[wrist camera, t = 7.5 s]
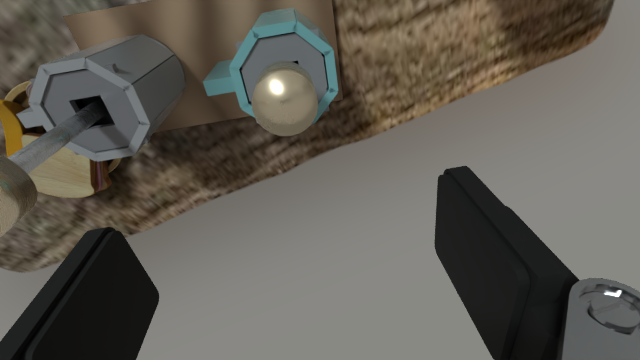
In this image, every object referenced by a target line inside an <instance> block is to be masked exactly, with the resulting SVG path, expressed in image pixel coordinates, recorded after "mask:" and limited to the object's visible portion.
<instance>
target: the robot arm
mask: <svg viewBox="0 0 640 360" xmlns="http://www.w3.org/2000/svg"><path fill="white" fill-rule="evenodd" d="M437 189H438V190H437V208H436V226H435V227H436V228H435V249H436V253H437V255H438V257H439V259H440V261H441V263H442V265H443V267H444V268H445V270H446V272H447V274H448V276H449V278H450V279H451V281H452V283H453V285H454V287H455V289H456V291H457V293H458V294H459V296H460V298H461V300H462V302H463V304H464V306H465V307H466V309H467V311H468V313H469V315H470V317H471V319H472V321H473V322H474V324H475V326H476V328H477V330H478V332H479V334H480V336H481V337H482V339H483V341H484V343H485V345H486V347H487V349H488V350H489V352H490V354H491V356H492V358H493V359H494V360H640V292H639V291H637V290H635V289H633V288H632V287H630V286H627V285H625V284H622V283H619V282H617V281H612V280H607V279H603V278H588V279H584V280H579V279H578V278H577V277H576V276H575V275H574V274H573V273H572V272H571V271H570V270H569V269H568V268H567V267H566V266H565V265H564V264H563V263H562V262H561V260H559V258H558V257H557V256H556V255H555V254H554V253H553V252H552V251H551V250H550V249H549V248H548V247H547V246H546V245H545V244H544V243H543V242H542V241H541V240H540V239H539V237H537V235H536V234H535V233H534V232H533V231H532V230H531V229H530V228H529V227H528V226H527V225H526V224H525V223H524V222H523V221H522V220H521V219H520V218H519V217H518V216H517V215H516V214H515V213H514V211H512V210H511V209H510V208H509V207H507V206H504V204H503V203H502V202H501V201H500V200H499V199H498V198H497V197H496V196H495V195H494V194H493V193H492V192H491V191H490V190H489V189H488V187H486V185H485V184H484V183H483V182H482V181H481V180H480V179H479V178H478V177H477V176H476V175H475V174H474V173H473V172H472V171H471V170H470V168H468V167H467V166H462V167H456V168H450V169H446V170H445V171H444V174H443V175H440V176H439V177H438V188H437ZM158 302H159V293H158V291H157V289H156V287H155V285H154V284H153V282H152V281H151V279H150V277H149V276H148V274H147V273H146V271H145V270H144V268H143V266H142V265H141V263H140V261H139V260H138V258H137V257H136V255H135V253H134V252H133V250H132V249H131V247H130V245H129V244H128V242H127V241H126V239H125V237H124V236H123V234H122V233H121V232H120V231H116V230H115V229H114V228H112V227H106V228H100V229H94V230H90V231H87V232H86V233H85V234H84V235H83V237H82V238H81V239H80V241H79V242H78V243H77V244H76V246H75V247H74V248H73V249H72V251H71V252H70V253H69V255H68V256H67V257H66V258H65V260H64V261H63V262H62V264H61V265H60V266H59V268H58V269H57V270H56V271H55V272H54V274H53V275H52V276H51V278H50V279H49V280H48V281H47V283H46V284H45V285H44V287H43V288H42V289H41V290H40V292H39V293H38V294H37V295H36V297H35V298H34V299H33V301H32V302H31V303H30V304H29V306H28V307H27V308H26V310H25V311H24V312H23V313H22V315H21V316H20V317H19V318H18V320H17V321H16V322H15V324H14V325H13V326H12V327H11V329H10V330H9V331H8V333H7V334H6V335H5V336H4V338H3V339H2V341H1V342H0V360H136V358H137V356H138V353H139V351H140V348H141V345H142V343H143V340H144V338H145V335H146V333H147V330H148V328H149V325H150V323H151V320H152V317H153V315H154V312H155V310H156V307H157V305H158Z"/></svg>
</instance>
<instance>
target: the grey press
mask: <svg viewBox="0 0 640 360" xmlns="http://www.w3.org/2000/svg"><path fill="white" fill-rule="evenodd" d="M29 80H30V82H31V83H32V85H33V88H32V91H31V94H30V98H29V101H28V102H30V103H29V105H30V107H29V108H27V109H26V110H24V111H22V112H20V113H18V114H16V115H17V116H18V118H19V119H20V121H21V122H22V124H23V125H24V127H25V128H30V127H35V126H41V125H43V127H44V128H45V130H46V131H47V132H48V131H49V130H51V129H52V128H54V127H56V126H57V125H59V124H60V123H62V122H63V121H65V120H66V119H68V118H69V117H71V116H72V115H74V114H75V113H77V112H79V111H80V110H79V108H78V106H77V104H76V103H75V101H74V100H76V99H81V98H87V97H93V96H98V95H100V96H101V98H102V100H103V102H104V104H105V106H106V108H107V109H108V111H109V113H110V115H111V117H112V119H113V121H114V123H110V124H104V125H99V126H92V125H91V126H90V127H89V128H87V129H86V130H85V131H83V132H82V133H81V134H79V135H78V136H77V137H75V138H74V139H73V140H72V141H70V142H69V143H68V144H66V145H65V146H64V147H65V148H68V149H70V150H72V151H74V153H75V154H76V155H80V154H81V155H83V156H85V157H87V158H89V159H91V160H93V161H97V162H99V161H104V160H110V159H116V158H122V157H127V156H133V155H135V154H136V153H137V152H138V151H139V150H140V148H141V147H142V146H143V145H144V144H145V143H148V142H149V141H150V140H151V139H150V137H151V135H152V134H153V133H154V132H155V131H156V129H157V128H158V127H159V126H160V125H161V124H162V122H163V121H164V120H165V119H166V118H167V116H168V115H169V114H170V113H171V112H172V111H173V109H174V108H175V106H176V104H177V102H178V100H179V99H180V98H181V96H182V95H183V92H184V89H185V87H186V77H185V72H184V68H183V66H182V64H181V62H180V60H179V58H178V57H177V56H176V54H175V53H174V52H173V51H172V50H171V49H170V48H169V47H168V46H167V45H165V44H164V43H162V42H161V41H159V40H157V39H155V38H152V37H149V36H146V35H143V34H140V35H130V36H126V37H123V38H118V39H112V40H109V41H106V42H103V43H101V44H98V45H95V46H92V47H90V48H87V49H84V50H81V51H79V52H76V53H73V54H70V55H68V56H65V57H62V58H59V59H57V60H54V61H51V62H48V63H46V64H43V65H41V66H39V69H38V73H37V76H36V77H34V78H32V79H29Z"/></svg>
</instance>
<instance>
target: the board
mask: <svg viewBox="0 0 640 360" xmlns="http://www.w3.org/2000/svg"><path fill="white" fill-rule="evenodd" d="M288 8H293V9H294V8H295V9H296V10H298V11H299V12H300V13H301V14H303V15H304V16H306V17H307V18H308V19H309V20H310V21H311V22H313V23H314V24H315V25H316V26H318V27H319V28H320V29H321V31H322V33H323V34H324V36H325V37H326V39H327V40H328V42H329V43H330V45H331V47H332V48H333V50H334V58H335V67H336V75H337V83H338V93H337V95H336V96H335V97H334V99H333V100H332V101H331V102H333V101H339V100H343V94H342V86H341V77H340V68H339V59H338V51H337V42H336V33H335V24H334V15H333V7H332V0H153V1H147V2H141V3H136V4H130V5H124V6H119V7H113V8H107V9H102V10H96V11H90V12H85V13H79V14H73V15H68V16H63V18H64V20H65V21H66V23H67V25H68V27H69V29H70V31H71V33H72V35H73V37H74V39H75V41H76V43H77V45H78V47H79V49H80V51H81V50H84V49H87V48H90V47H92V46H95V45H98V44H101V43H103V42H106V41H109V40H112V39H118V38H123V37H126V36H130V35H140V34H143V35H146V36H149V37H152V38H155V39H157V40H159V41H161V42H162V43H164V44H165V45H167V46H168V47H169V48H170V49H171V50H172V51H173V52H174V53H175V54H176V56H177V57H178V58H179V60H180V62H181V64H182V66H183V68H184V72H185V77H186V87H185V89H184V92H183V95H182V96H181V98H180V99H179V100H178V102H177V104H176V106H175V108H174V109H173V111H172V112H171V113H170V114H169V115H168V116H167V118H166V119H165V120H164V121H163V122H162V124H161V125H160V126H159V127H158V128H157V129H156V131H155V132H154V133H156V132H162V131H167V130H173V129H179V128H184V127H190V126H196V125H202V124H207V123H213V122H219V121H225V120H230V119H236V118H242V117H247V116H251V115H249V114H248V113H246V112H245V111H243V110H241V109H242V108H240V105H239V102H238V98H237V95H236V91H235V92H230V93H224V94H218V95H213V96H207V93H206V90H205V87H204V84H203V81H204V79H205V78H206V77H207V76H208V74H209V73H210V72H211V71H212V69H213V68H214V67H215V65H216V64H217V63H218V62H221V61H227V60H232V59H234V57H235V55H236V54H237V48H236V44H235V43H236V42H239V41H244V40H245V38H246V36H247V35H248V33H249V31H250V29H251V28H252V26H253V25H254V23H255V22H256V20H257V19H258V17H259V16H260V14H262V13H265V12H271V11H274V10H278V9H288Z"/></svg>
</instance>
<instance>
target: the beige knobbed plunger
mask: <svg viewBox="0 0 640 360" xmlns="http://www.w3.org/2000/svg"><path fill="white" fill-rule="evenodd" d="M252 110H253V114H254V116H255V118H256V120H257V122H258V123H259V124H260V125H261V126H262V127H263V128H264V129H265V130H267V131H268V132H270V133H272V134H275V135H279V136H293V135H296V134H299V133H301V132H303V131H304V130H306V129H307V128H308V127H309V126H310V125H311V124H312V122H313V121H314V119H315V117H316V114H317V110H318V100H317V95H316V91H315V88H314V84H313V81H312V78H311V76H310V75H309V73H308V72H307V71H306V70H305V69H304V68H303V67H302V66H300V65H299V63H298V61H292V62H290V61H278V62H275V63H272V64H270V65H269V66H267V67H266V68H265V69H264V70H263V71H262V72H261V73H260V75H259V77H258V79H257V82H256V86H255V89H254V93H253V97H252Z"/></svg>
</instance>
